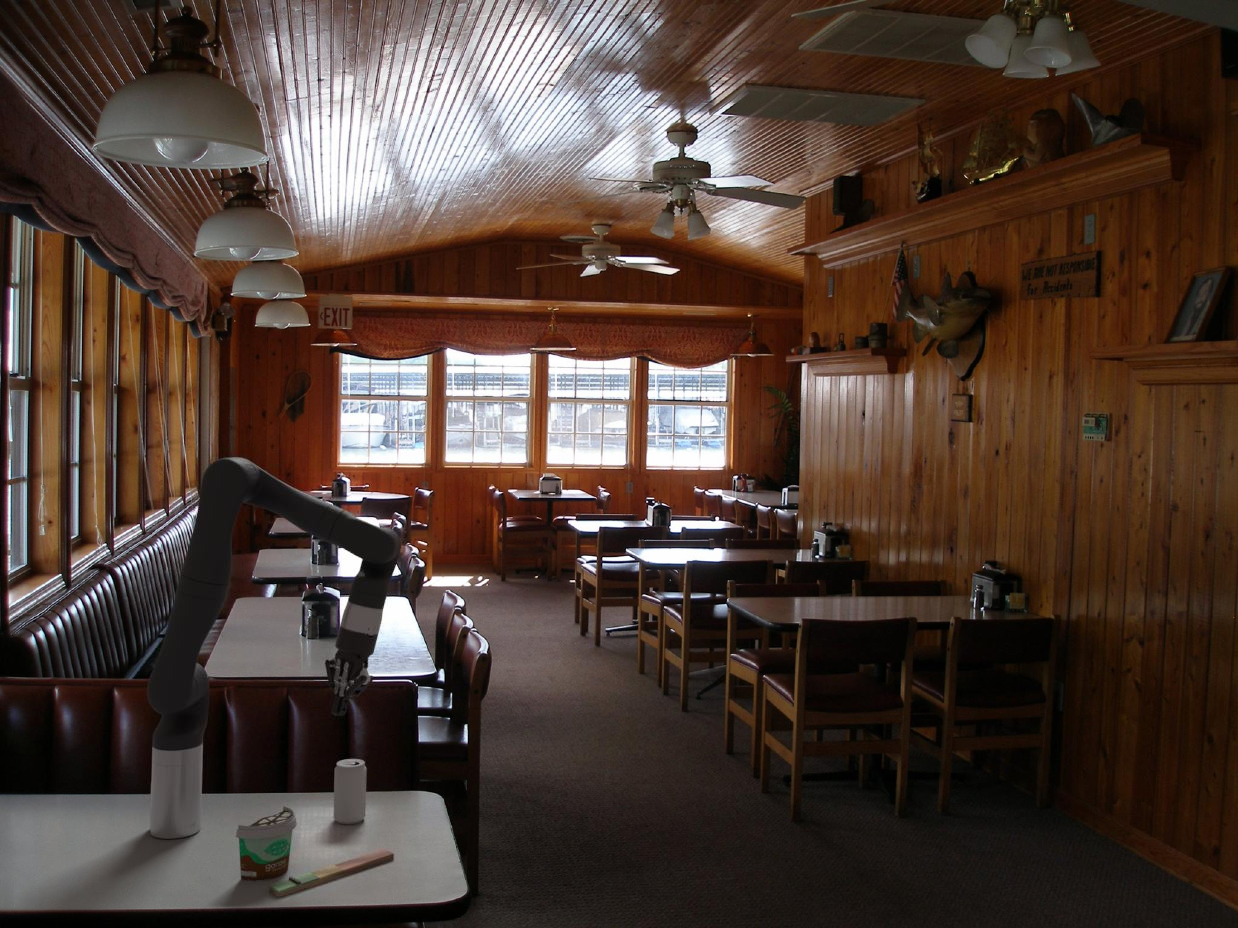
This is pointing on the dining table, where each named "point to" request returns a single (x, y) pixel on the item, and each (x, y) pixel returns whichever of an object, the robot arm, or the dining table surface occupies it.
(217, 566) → the robot arm
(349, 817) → the beverage can
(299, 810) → the dining table surface
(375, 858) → the strip
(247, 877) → the food container
